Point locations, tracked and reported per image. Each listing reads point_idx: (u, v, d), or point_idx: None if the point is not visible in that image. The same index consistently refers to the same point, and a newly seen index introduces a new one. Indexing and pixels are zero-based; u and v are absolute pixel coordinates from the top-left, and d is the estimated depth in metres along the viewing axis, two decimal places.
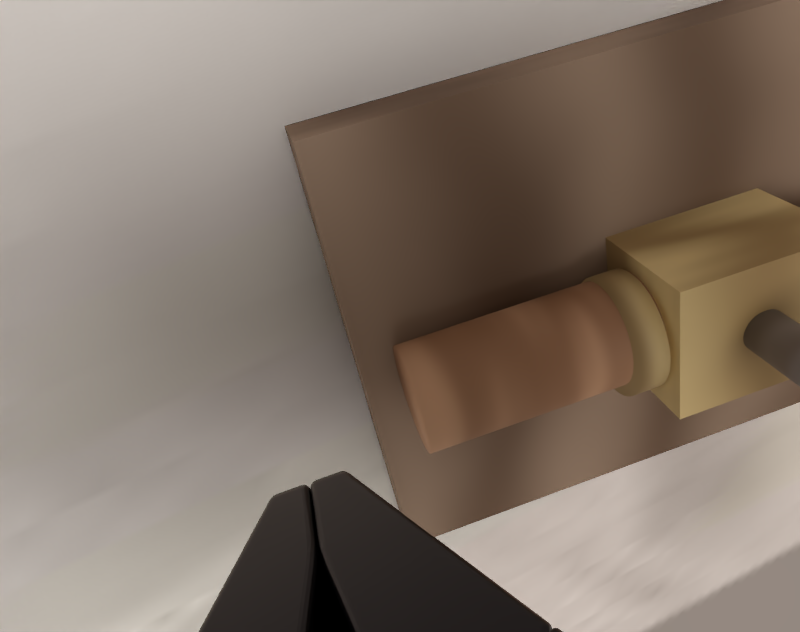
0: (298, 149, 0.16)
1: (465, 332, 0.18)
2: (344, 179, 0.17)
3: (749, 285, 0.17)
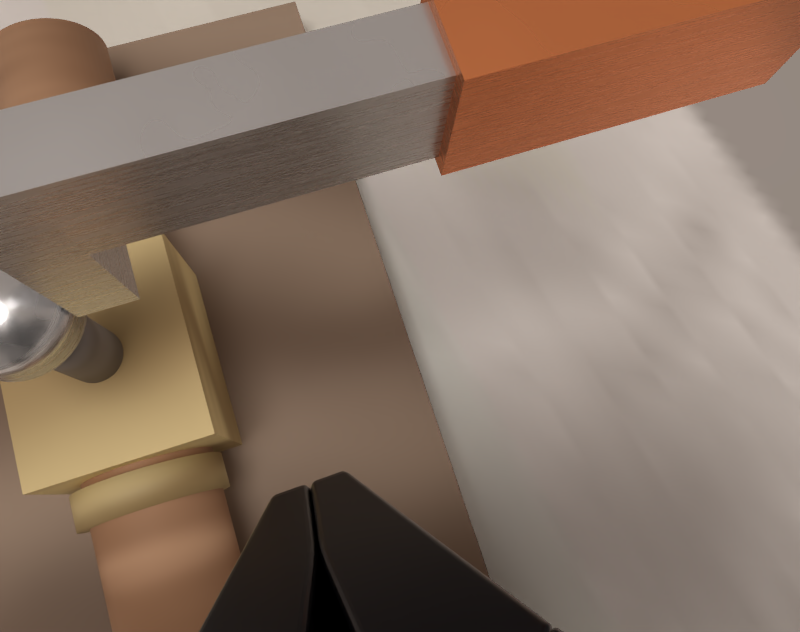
0: None
1: None
2: None
3: (27, 400, 0.15)
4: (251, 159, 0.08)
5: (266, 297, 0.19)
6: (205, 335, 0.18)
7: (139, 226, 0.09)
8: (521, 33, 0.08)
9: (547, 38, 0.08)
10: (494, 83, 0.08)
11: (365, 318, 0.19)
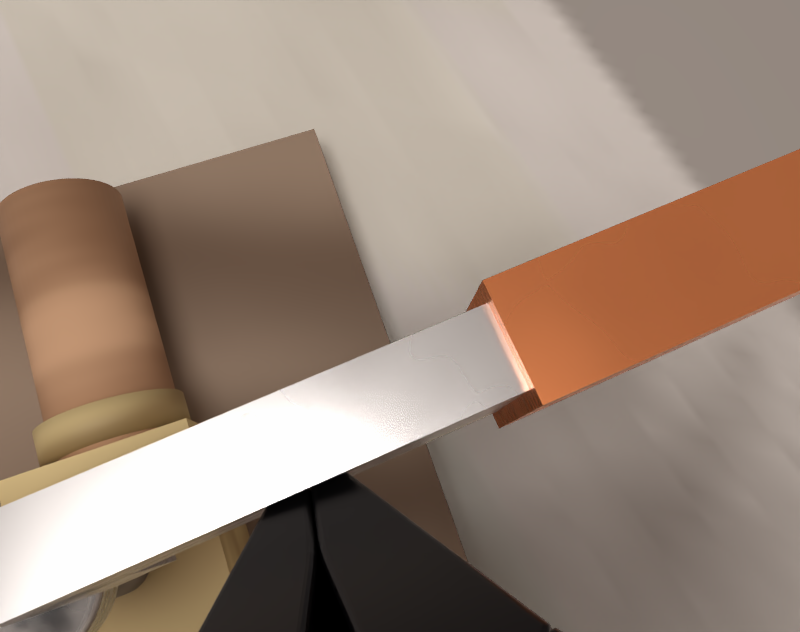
0: None
1: None
2: None
3: None
4: None
5: None
6: None
7: (185, 548, 0.08)
8: (597, 339, 0.07)
9: (626, 342, 0.07)
10: (571, 393, 0.07)
11: (398, 474, 0.18)
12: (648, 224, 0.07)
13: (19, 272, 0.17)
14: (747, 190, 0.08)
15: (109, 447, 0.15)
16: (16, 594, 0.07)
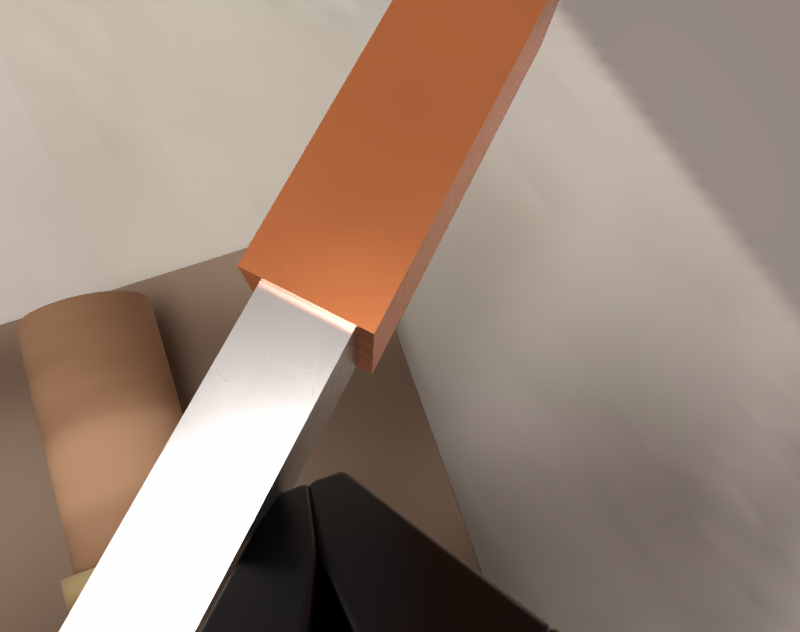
0: None
1: None
2: None
3: None
4: None
5: None
6: None
7: None
8: (377, 239, 0.07)
9: (403, 222, 0.07)
10: (392, 303, 0.07)
11: None
12: (345, 105, 0.07)
13: (43, 399, 0.15)
14: (407, 13, 0.07)
15: None
16: None
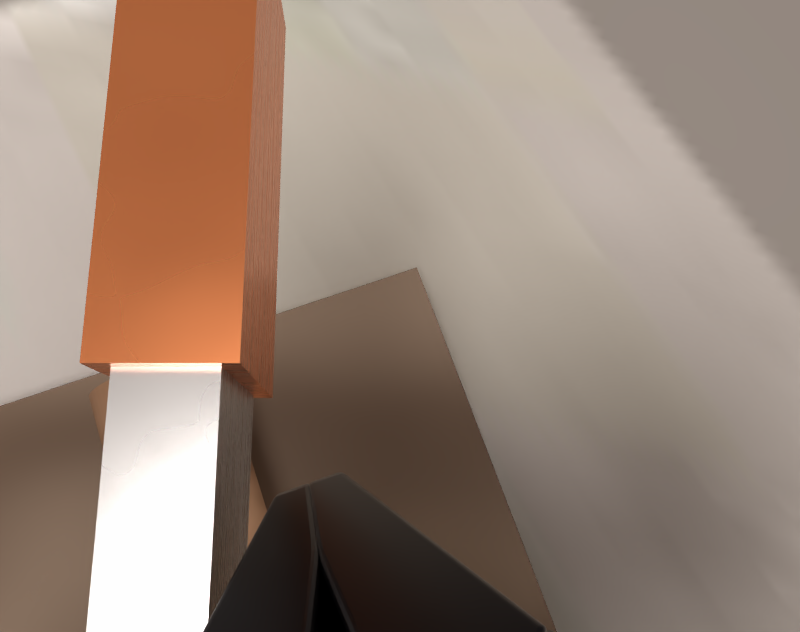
0: None
1: None
2: None
3: None
4: None
5: None
6: None
7: None
8: (202, 275, 0.07)
9: (219, 248, 0.07)
10: (245, 325, 0.07)
11: None
12: (113, 165, 0.07)
13: None
14: (131, 54, 0.07)
15: None
16: None
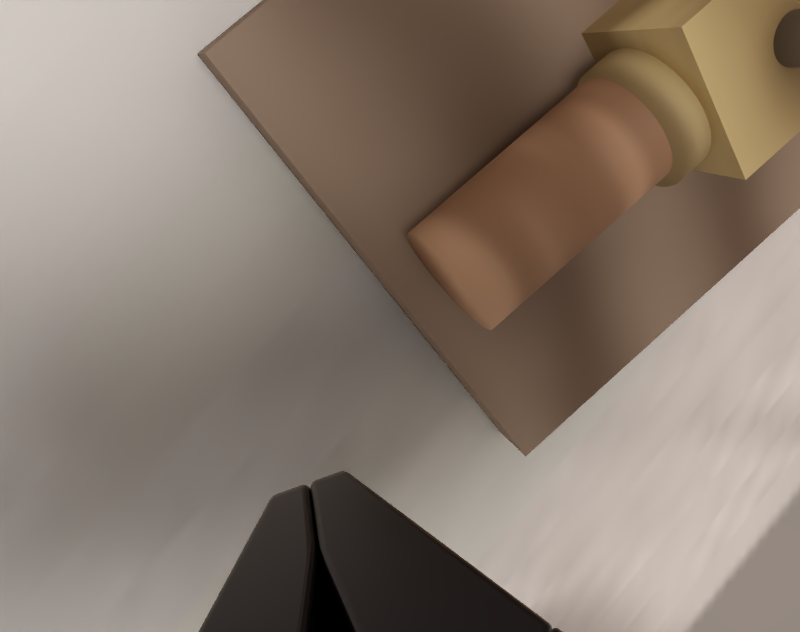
0: (214, 59, 0.15)
1: (473, 184, 0.16)
2: (276, 74, 0.15)
3: None
4: None
5: None
6: None
7: None
8: None
9: None
10: None
11: (751, 219, 0.21)
12: None
13: None
14: None
15: None
16: None
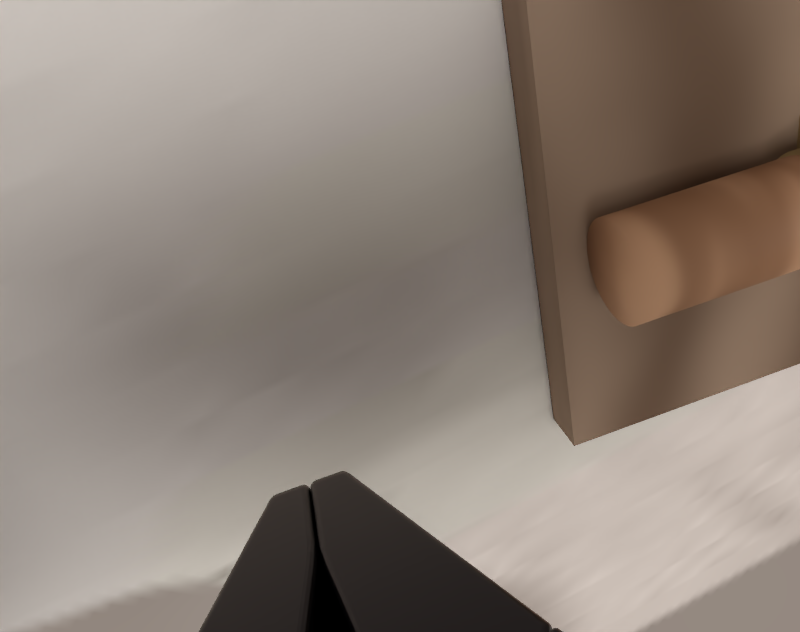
0: (529, 1, 0.16)
1: (675, 200, 0.18)
2: (567, 36, 0.17)
3: None
4: None
5: None
6: None
7: None
8: None
9: None
10: None
11: None
12: None
13: None
14: None
15: None
16: None
